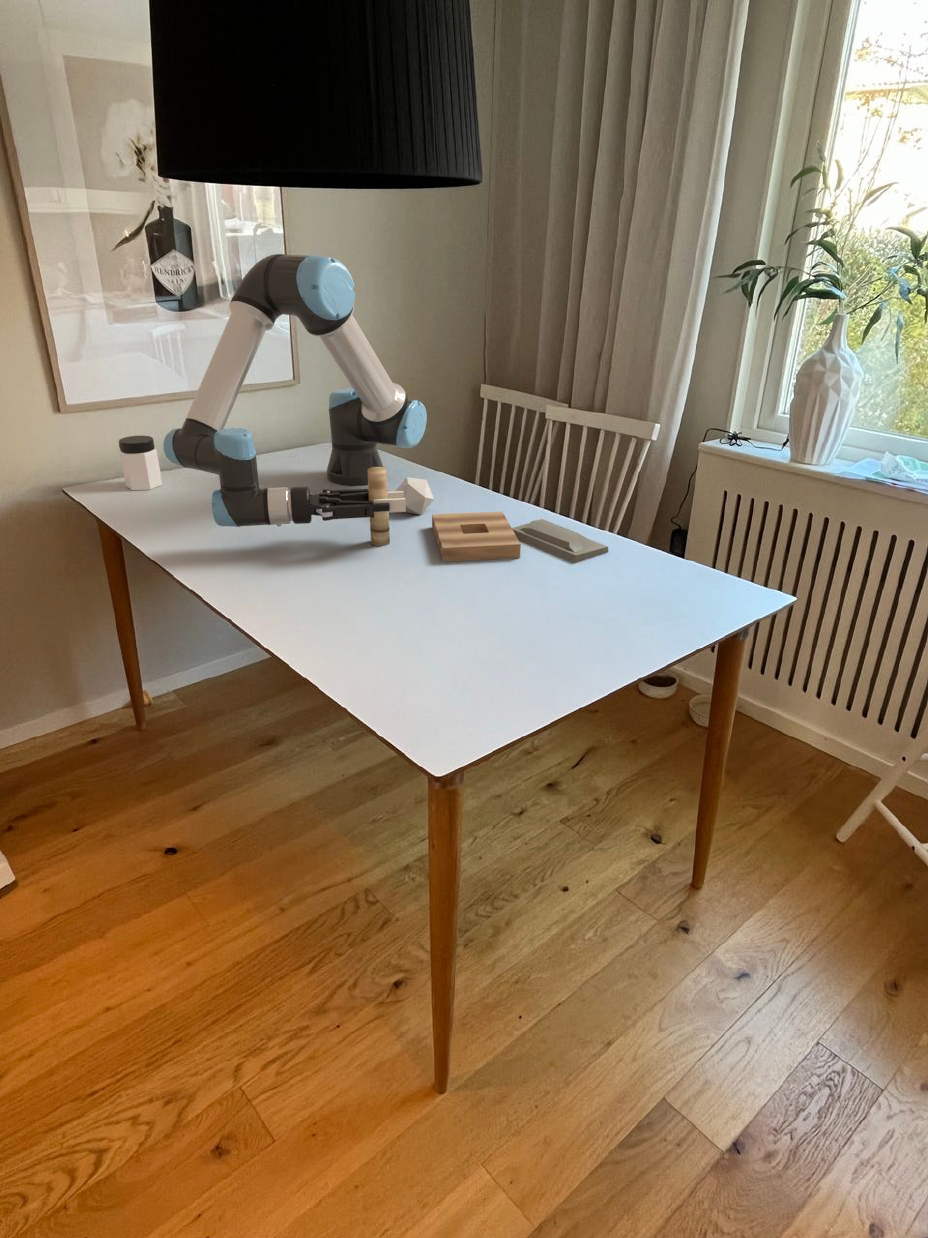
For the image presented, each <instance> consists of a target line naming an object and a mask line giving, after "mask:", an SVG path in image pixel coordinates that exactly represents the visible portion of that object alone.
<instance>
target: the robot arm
mask: <svg viewBox="0 0 928 1238" xmlns="http://www.w3.org/2000/svg"><path fill="white" fill-rule="evenodd" d="M354 288H355V283H354V280H353V277H352V275H351V273H350V271H349V270H348V268H347V267H346V266H345V265H344V264H343V263H342V262H341V261H340V260H338V259H335V258H333V257H329V256H324V255H322V254H321V255H319V254H313V255H305V254H303V255H301V254H299V255H298V254H284V253H276V254H270V255H268V256H265V257H264V258H262V259H260V260H259V261H257V262H256V264H254V265H253V266H252V267H251V268H250V269H249V270H248V272H246V274H245V275H244V277H243V278H242V280H241V281H240V282H239V284H238V286H237V288H236V289H235V291H234V293H233V296H232V297H231V300H230V302H229V305H228V308H229V310H230V315H229V318H228V319H227V322H226V324H225V327H224V329H223V332H222V334H221V336H220V339H219V341H218V343H217V345H216V347H215V350H214V351H213V352H214V353H213V355H212V357H211V359H210V362H209V364H208V366H207V369H206V371H205V373H204V375H203V377H202V380H201V382H200V384H199V386H198V389H197V391H196V394H195V395H194V399H193V401H192V403H191V406H190V408H189V410H188V412H187V414H186V417H185V420H184V422H183V423H182V426H181V427H180V428H174V429H172V430H170V431H169V432H168V433H166V434H165V437H164V438H163V439H164V440H163V446H162V447H163V448H162V449H163V452H164V455H165V457H166V458H167V459H168V460H169V462H171V463H173V464H175V465H178V466H181V467H183V468H184V469H191V470H196V471H201V472H202V471H203V472H206V473H209V474H210V473H211V474H214V475H218V478H219V484H220V488H219V489H215V490H213V491H212V493H211V511H212V517H213V520H214V522H215V524H216V525H218V526H220V527H236V528H240V527H254V526H272V525H276V526H277V527H279V528H280V527H281V526H282V525H290V524H291V523H292V522H293V524H295V525H300V524H302V525H303V524H311V523H312V518H313V516H318V517H322V518H321V519H322V521H324V522H327V521H332V520H343V519H361V518H362V519H365V518H370V517H371V518H373V517H374V513H387V512H389V513H406V500H405V498H404V491H396V490H394V491H388V499H374V502H373V501H369V490H368V488H363V489H362V488H358V489H357V488H355V489H354V488H353V489H352V488H351V489H350V488H349V489H328V488H323V489H322V490H321V491H322V492H319V493H315V494H311V490H310V487H308V486H295V487H292V488H291V489H289V487H287V486H286V487H285V486H284V487H264V488H263V487H260V482H259V473H258V462H257V450H256V446H255V441H254V436H253V433H252V432H251V431H250V430H249V429H247V428H243V427H241V428H239V427H238V428H237V427H228V428H225V426H226V423H227V421H228V419H229V417H230V414H231V412H232V409H233V407H234V405H235V403H236V401H237V398H238V396H239V393H240V391H241V389H242V386H243V385H244V382H245V380H246V377H247V375H248V372H249V370H250V368H251V366H252V363H253V360H254V359H255V358H256V354H257V353H258V349H259V347H260V345H261V342H262V340H263V339H264V335H265V334H266V331H270V330H272V329H273V327H274V325H275V322H276V321H277V319H279V317H281V316H283V315H285V316H295V317H297V318H298V319H299V322H300V323H301V324H302V326H303V327H304V329H305V330H306V332H308V333H309V334H310V335H312V336H315V337H319V338H320V340H321V341H322V343H323V344H324V346H325V347H326V349H327V350H328V352H329V353H330V355H331V356H332V358H333V360H334V361H335V363H336V364H337V366H338V368H339V369H340V371H341V372H342V374H343V376H344V377H345V378H346V380H347V381H348V383H349V384H350V386H351V387H347V388H341V389H337V390H334V391H332V392H331V393H330V394H329V396H328V404H329V405H328V414H329V425H330V427H329V428H330V438H331V453H330V457H329V459H328V465H327V468H326V473H327V474H326V475H327V476H326V477H327V480H328V481H329V482H332V483H333V484H337V485H345V486H362V485H368V469H369V468H372V467H384V464H383V461H382V458H381V455H380V454H379V450H378V447H377V444H380V445H386V446H390V447H396V448H398V449H402V448H404V449H411V448H415V447H416V446H417V445H418V444H419V443H420V442H421V440H422V438H423V436H424V434H425V431H426V426H427V418H428V417H427V409H426V407H425V405H424V404H423V403H422V402H421V401H419V400H417V399H414V400H412V399H410V397H409V396H408V394H407V393H406V391H405V389H404V388H403V387H402V386H401V385H400V384H398V383H394V382H393V381H392V380H391V378H390V375H388V373H387V371H386V369H385V368H384V366H383V364H382V363H381V361H380V358H378V356H377V354H376V352H375V351H374V348H373V347H372V346H371V344H370V342H369V340H368V339H367V338H366V335H365V334H364V332H363V331H362V328H361V327H360V325H359V324H358V322H357V320H356V319H355V317H354V315H353V313H354V311H355V300H356V291H354ZM384 468H385V467H384Z"/></svg>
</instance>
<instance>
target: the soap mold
mask: <svg viewBox="0 0 928 1238" xmlns="http://www.w3.org/2000/svg"><path fill="white" fill-rule="evenodd" d="M511 528H512V530H513V531H514V533H515V535H516V537H517V538H518V540H519V541H521V542H523V543H526V544H528V545H531V546H533V547H535V548H538V549H539V550H542V551H544V552H547V553H550V554H552V555H554V556H557V557H559V558H561V559H564V560H566V561H569V562H571V563H573V564H576V563H577V564H578V563H581V562H583V561H585V560H588V559H591V558H594V557H597V556H600V555H602V554H607V553H609V546H608V545H605V544H603V543H600V542H597V541H595V540H593V539H590V538H587V537H586V536H584V535H582V534H580V533H579V532H577V531H574V530H572V529H569V528H567V527H563V526H561V525H560V524H559V525H558V524H556V523H553V522H551V521H549V520H547V519H544V518H541V519H536V520H532V521H530V522H528V523H524V524H520V525H518V526H515V527H511Z"/></svg>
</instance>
